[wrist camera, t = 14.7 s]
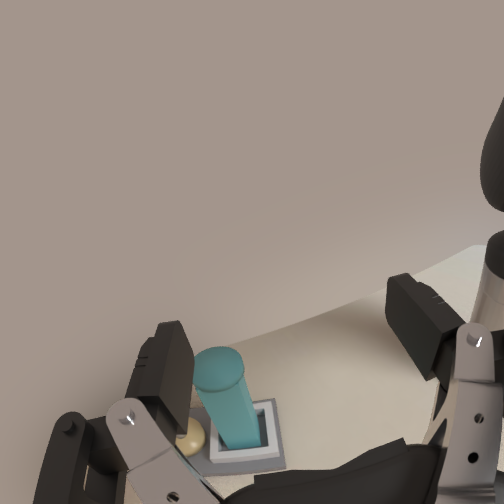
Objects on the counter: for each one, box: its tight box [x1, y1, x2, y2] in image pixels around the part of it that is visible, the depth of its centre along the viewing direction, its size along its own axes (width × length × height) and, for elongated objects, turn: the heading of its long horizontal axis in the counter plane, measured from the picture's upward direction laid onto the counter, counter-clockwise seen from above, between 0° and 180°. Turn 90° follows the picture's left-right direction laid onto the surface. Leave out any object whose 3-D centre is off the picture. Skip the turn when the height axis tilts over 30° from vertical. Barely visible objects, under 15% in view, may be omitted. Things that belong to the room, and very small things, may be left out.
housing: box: [176, 398, 286, 476], centre depth 30 cm, size 16×11×4 cm
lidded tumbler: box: [193, 347, 261, 450], centre depth 27 cm, size 5×5×14 cm
